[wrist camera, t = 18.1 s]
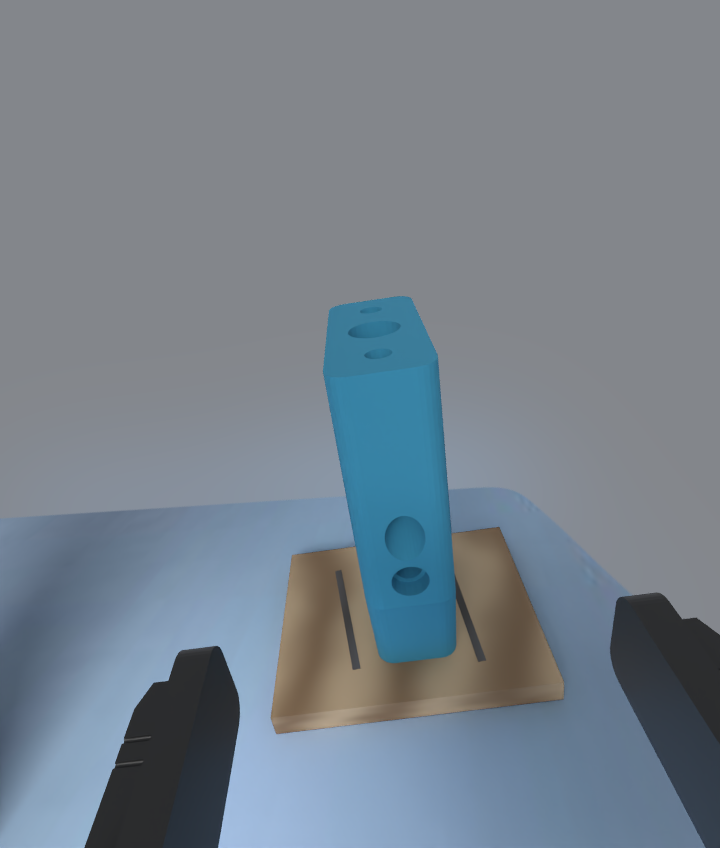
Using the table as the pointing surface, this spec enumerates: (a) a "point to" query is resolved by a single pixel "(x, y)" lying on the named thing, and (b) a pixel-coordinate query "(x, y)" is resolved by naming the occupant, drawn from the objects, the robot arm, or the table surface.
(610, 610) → the table surface
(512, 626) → the oak board
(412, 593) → the block
